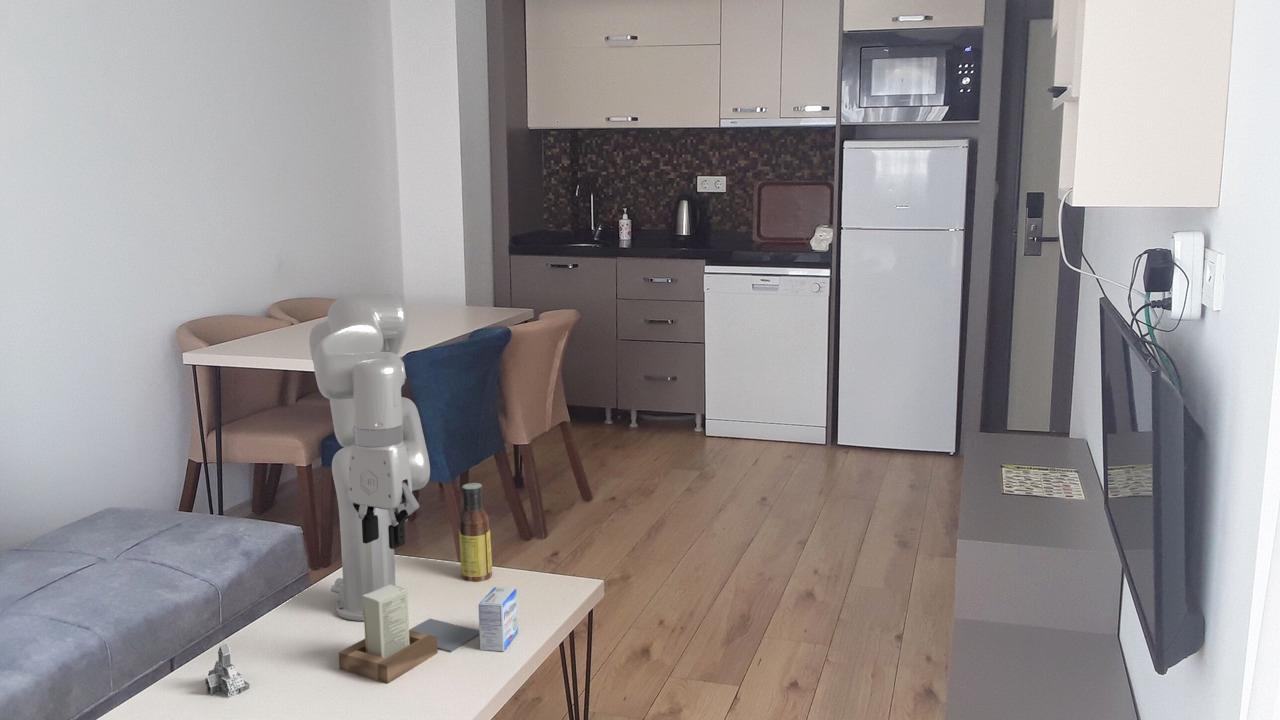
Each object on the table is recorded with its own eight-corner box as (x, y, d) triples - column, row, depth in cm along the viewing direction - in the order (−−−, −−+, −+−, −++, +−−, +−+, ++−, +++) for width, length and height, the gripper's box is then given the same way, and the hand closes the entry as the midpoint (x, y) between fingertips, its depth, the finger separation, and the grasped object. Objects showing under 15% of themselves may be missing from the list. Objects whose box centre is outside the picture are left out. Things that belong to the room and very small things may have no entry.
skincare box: (394, 650, 180) (391, 583, 178) (411, 657, 178) (408, 589, 176) (364, 663, 176) (361, 594, 174) (381, 671, 173) (378, 600, 171)
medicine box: (504, 652, 180) (502, 604, 178) (479, 650, 180) (477, 602, 179) (518, 633, 187) (517, 587, 186) (494, 631, 188) (493, 585, 187)
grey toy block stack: (170, 693, 166) (167, 648, 165) (222, 674, 173) (219, 630, 171) (198, 712, 160) (195, 664, 159) (251, 691, 167) (248, 645, 166)
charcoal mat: (396, 638, 185) (396, 636, 185) (430, 620, 193) (429, 618, 193) (450, 652, 180) (450, 650, 179) (482, 633, 187) (482, 631, 187)
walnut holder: (339, 669, 173) (338, 652, 173) (390, 641, 184) (390, 625, 184) (387, 683, 168) (386, 665, 168) (437, 653, 179) (436, 636, 179)
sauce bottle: (478, 571, 218) (475, 478, 214) (499, 578, 214) (496, 483, 210) (453, 580, 213) (450, 485, 209) (474, 587, 209) (471, 491, 205)
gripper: (323, 435, 171) (329, 542, 174) (404, 447, 163) (408, 559, 166) (356, 426, 177) (361, 529, 180) (435, 437, 169) (439, 545, 172)
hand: (383, 542), depth 173 cm, fingers open, 5 cm apart
